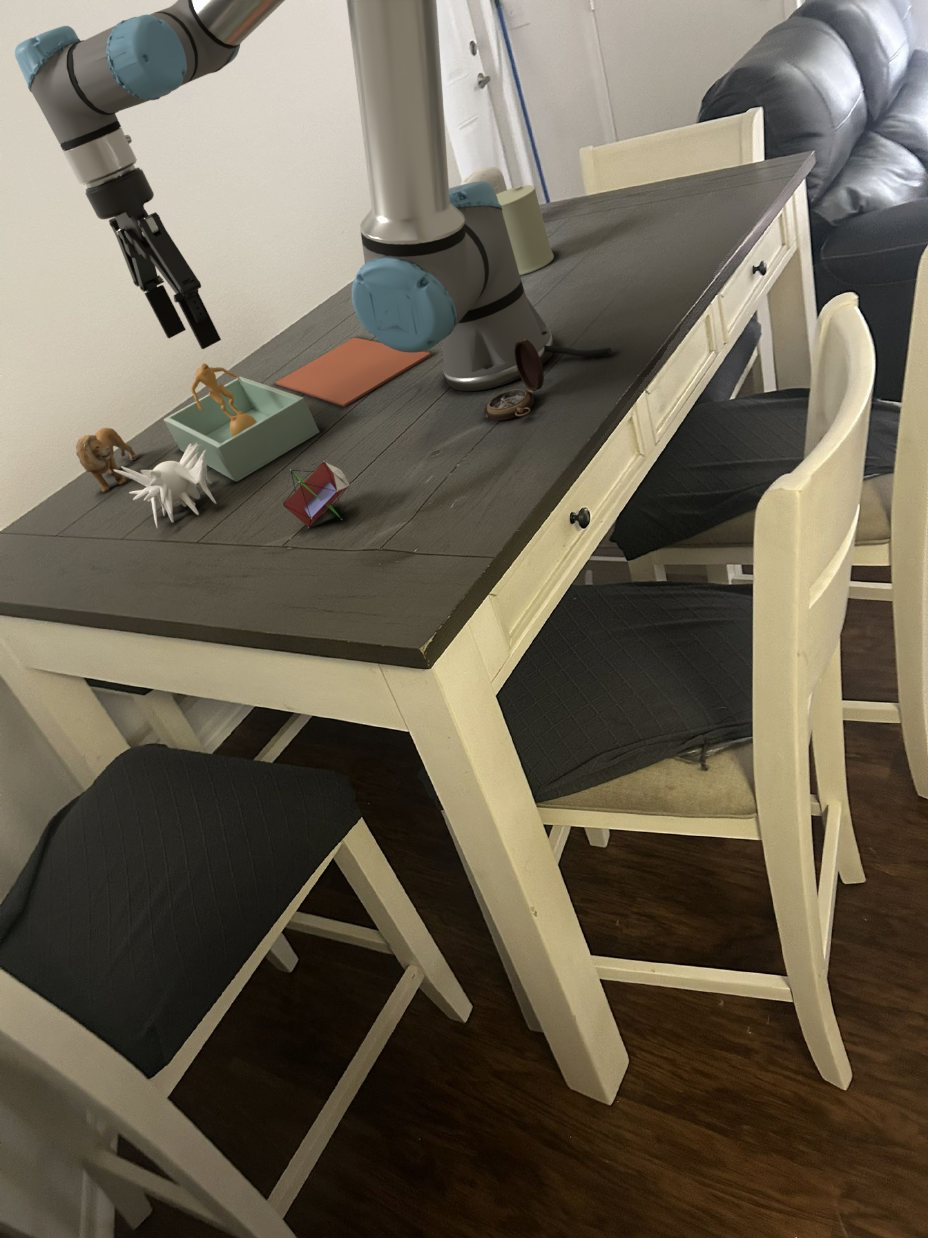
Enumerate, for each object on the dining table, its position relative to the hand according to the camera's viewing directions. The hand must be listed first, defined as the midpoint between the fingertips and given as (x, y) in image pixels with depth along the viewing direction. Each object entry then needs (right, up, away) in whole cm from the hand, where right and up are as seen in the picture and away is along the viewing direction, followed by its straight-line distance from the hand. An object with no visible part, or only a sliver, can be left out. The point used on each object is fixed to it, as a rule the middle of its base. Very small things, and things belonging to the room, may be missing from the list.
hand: (193, 339), depth 125 cm
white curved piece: (+43, +35, +52) cm, 76 cm away
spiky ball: (0, -24, -5) cm, 25 cm away
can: (+47, +22, +32) cm, 61 cm away
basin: (+5, -12, +9) cm, 16 cm away
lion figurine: (-15, -17, +14) cm, 27 cm away
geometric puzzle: (+21, -26, -19) cm, 39 cm away
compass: (+43, -12, -13) cm, 47 cm away
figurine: (+5, -12, +9) cm, 16 cm away
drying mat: (+19, +1, +19) cm, 27 cm away
